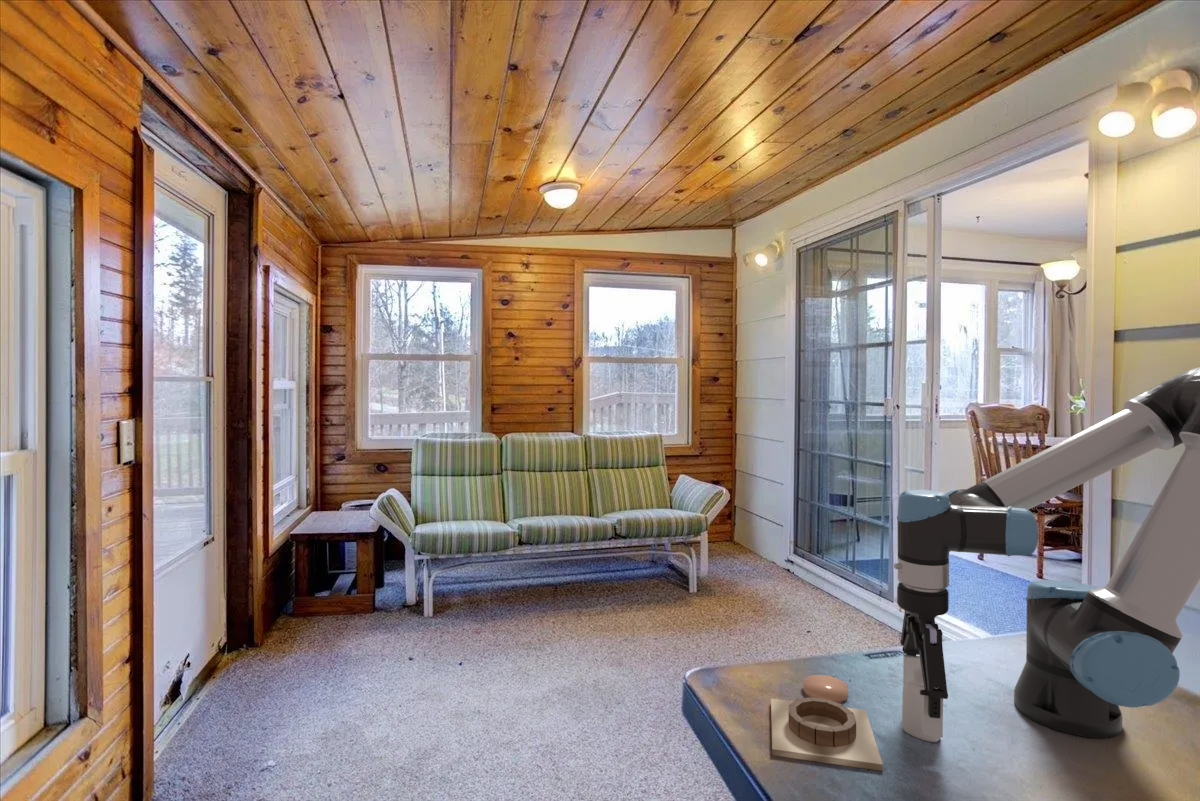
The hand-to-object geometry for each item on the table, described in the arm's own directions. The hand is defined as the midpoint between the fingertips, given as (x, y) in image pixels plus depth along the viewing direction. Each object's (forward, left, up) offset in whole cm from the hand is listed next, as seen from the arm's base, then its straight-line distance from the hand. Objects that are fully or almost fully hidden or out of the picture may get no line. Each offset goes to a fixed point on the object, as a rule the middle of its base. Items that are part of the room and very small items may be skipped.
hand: (921, 712), depth 102 cm
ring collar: (+16, +4, -4) cm, 17 cm away
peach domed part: (+14, -11, -4) cm, 18 cm away
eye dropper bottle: (0, 0, -4) cm, 4 cm away
